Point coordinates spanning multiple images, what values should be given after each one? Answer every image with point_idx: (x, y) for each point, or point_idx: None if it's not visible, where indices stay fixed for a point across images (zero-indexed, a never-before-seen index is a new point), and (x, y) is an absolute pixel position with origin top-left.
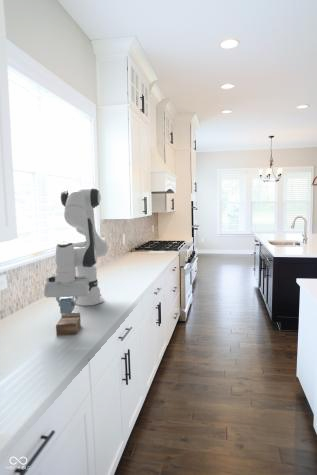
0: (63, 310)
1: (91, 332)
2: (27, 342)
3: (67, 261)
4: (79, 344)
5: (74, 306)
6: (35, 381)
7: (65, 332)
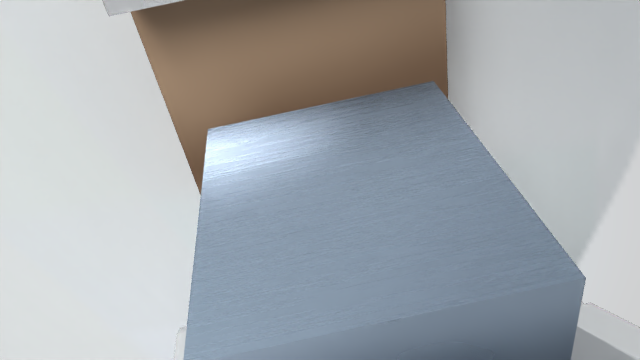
0: None
1: (553, 74)
2: (62, 325)
3: None
4: None
5: (444, 106)
6: None
7: None
